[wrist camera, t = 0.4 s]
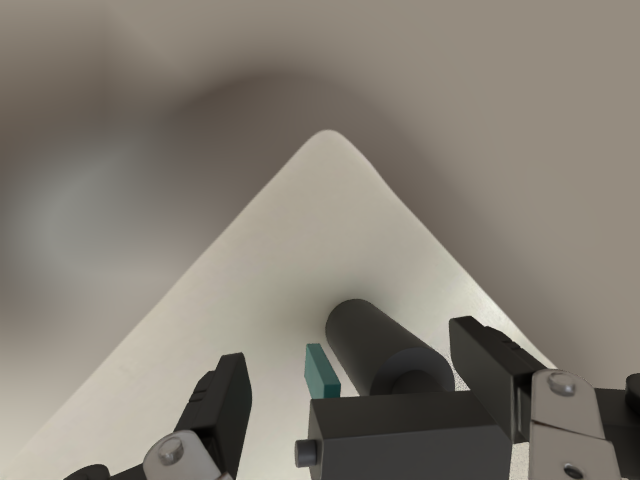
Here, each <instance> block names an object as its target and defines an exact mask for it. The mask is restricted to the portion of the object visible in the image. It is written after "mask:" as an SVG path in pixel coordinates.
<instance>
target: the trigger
mask: <svg viewBox="0 0 640 480" xmlns="http://www.w3.org/2000/svg"><path fill="white" fill-rule="evenodd" d="M304 376H305V379H306V382H307V385H308V388H309V391H310V395H311V398H312V399H320V398H338V397H340V392H341V383H340V381H339V379H338V377H337V375H336V374H335V372H334V370H333V368H332V366H331V364H330V362H329V360H328V359H327V357H326V355H325V353H324V351H323V349H322V347H321V345H320V344H319V343H318V344H307V345H306V360H305V375H304Z"/></svg>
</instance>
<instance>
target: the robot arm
mask: <svg viewBox="0 0 640 480" xmlns="http://www.w3.org/2000/svg"><path fill="white" fill-rule="evenodd" d="M449 336H450V351H451V359H452V363H453V366H454V368H455V370H456V372H457V373H458V374H459V376H460V377H461V378H462V379H463V381H464V382H465V383H466V385H467V386H468V387H469V388H470V390H471V391H472V392H473V394H474V395H475V396H476V397H477V399H478V400H479V401H480V403H481V404H482V405H483V406H484V408H485V409H486V410H487V412H488V413H489V414H490V415H491V417H492V418H493V419H494V420H495V422H496V423H497V424H498V426H499V427H500V428H501V429H502V431H503V432H504V433H505V435H506V436H507V437H508V438H509V440H510V441H511V442H512V444H518V443H523V442H529V473H528V480H622V479H621V478H628V479H629V480H640V373H637V374H632V375H630V376H628V377H627V379H626V388H625V390H617V389H601V388H600V389H599V388H593V387H592V385H591V384H590V383H589V382H587V381H586V380H585V379H583V378H582V377H579V376H578V375H576V374H573V373H570V372H567V371H563V370H558V369H548V368H547V367H546V366H544V365H543V364H542V363H540V362H539V361H538V360H537V359H535V358H534V357H533V356H532V355H530V354H529V353H528V352H527V351H525V350H524V349H523V348H520V346H519V345H518V344H516V343H515V342H512V340H511V339H510V338H509V337H508V336H506V335H505V334H504V333H503V332H501V331H498V330H496V329H494V328H491V327H489V326H486V327H484V326H483V325H482V324H480V323H479V322H478V321H477V320H476V319H474V318H473V317H472V316H464V317H458V318H452V319H450V320H449ZM251 406H252V389H251V384H250V380H249V375H248V371H247V366H246V362H245V357H244V354H243V353H242V352H240V353H234V354H228V355H222V356H221V358H220V360H219V363H218V365H217V367H216V370H214V371H208V372H207V373H206V374H205V375H204V376H203V377H202V378H201V379H200V380H199V381H198V383H197V385H196V387H195V389H194V391H193V394H192V395H191V397H190V399H189V403H187V405H186V407H185V409H184V411H183V413H182V415H181V417H180V419H179V421H178V423H177V425H176V427H175V429H174V431H173V433H171V434H169V435H167V436H165V437H163V438H162V439H160V440H159V441H158V442H157V443H155V444H154V445H153V446H152V447H151V448H150V450H149V451H148V452H147V454H146V456H145V458H144V461H143V463H142V464H139V465H137V466H135V467H133V468H130V469H128V470H126V471H123V472H121V473H118V474H116V475H114V476H110V473H109V470H108V468H107V467H106V466H105V465H102V464H95V465H90V466H87V467H84V468H82V469H80V470H78V471H76V472H74V473H72V474H71V475H69V476H68V477H66V478H65V479H63V480H236V476H237V471H238V467H239V462H240V457H241V453H242V448H243V444H244V439H245V434H246V430H247V425H248V420H249V416H250V411H251Z"/></svg>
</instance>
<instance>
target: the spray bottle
mask: <svg viewBox="0 0 640 480" xmlns="http://www.w3.org/2000/svg"><path fill="white" fill-rule="evenodd" d="M326 338H327V341H328V344H329V345H330V347H331V349H332V350H333V352H334V354H335V355H336V357H337V359H338V360H339V362H340V364H341V365H342V367H343V369H344V370H345V372H346V374H347V375H348V377H349V378H350V380H351V382H352V383H353V385H354V387H355V388H356V390H357V392H358V393H359V395H360V396H357V397H338V398H320V399H311V401H310V414H309V428H308V439H306V440H297V441H296V442H295V464H296V467H297V468H301V467H309V469H310V474H311V478H312V480H509V473H510V464H511V454H512V445H513V444H512V442H511V441H510V440H509V438H508V437H507V436H506V435H505V433H504V432H503V431H502V429H501V428H500V427H499V426H498V424H497V423H496V422H495V420H494V419H493V418H492V417H491V415H490V414H489V413H488V412H487V410H486V409H485V408H484V406H483V405H482V404H481V403H480V401H479V400H478V399H477V397H476V396H475V395H474V394H473V392H472V391H471V390H468V391H455V380H454V375H453V372H452V369H451V367H450V365H449V363H448V362H447V360H446V359H445V358H444V357H443V356H442V355H441V354H439V353H438V352H437V351H435V350H434V349H432V348H431V347H430V346H428V345H427V344H426V343H424V342H423V341H421V340H420V339H419V338H417V337H416V336H415V335H413V334H412V333H411V332H409V331H408V330H406V329H405V328H404V327H402V326H401V325H400V324H398V323H397V322H395V321H394V320H393V319H391V318H390V317H389V316H387V315H386V314H384V313H383V312H382V311H380V310H379V309H378V308H376V307H375V306H374V305H372V304H371V303H369V302H367V301H365V300H361V299H352V300H348V301H345V302H343V303H341V304H340V305H338V306H337V307H336V308H335V309H334V310H333V311H332V312H331V314H330V316H329V317H328V320H327V323H326Z"/></svg>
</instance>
